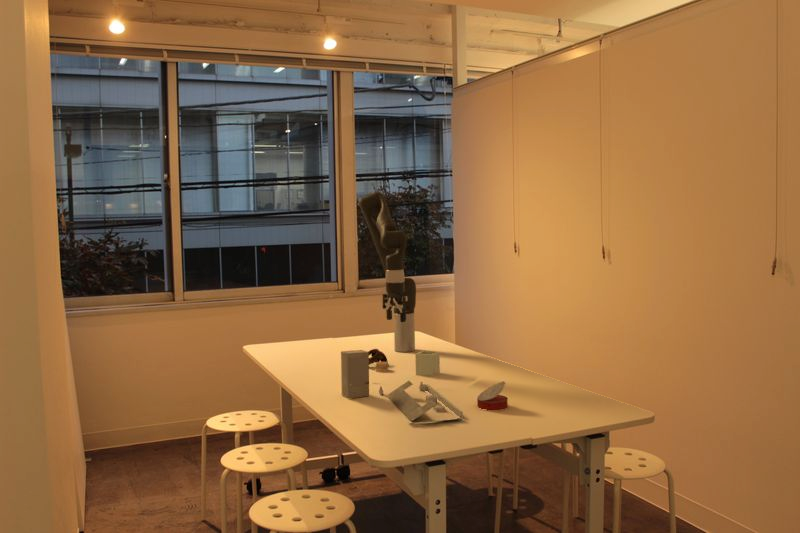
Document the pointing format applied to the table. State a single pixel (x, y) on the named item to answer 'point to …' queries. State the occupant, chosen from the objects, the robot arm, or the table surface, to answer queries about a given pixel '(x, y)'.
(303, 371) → the table surface
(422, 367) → the celadon pot
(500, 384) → the canned food
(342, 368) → the skincare box
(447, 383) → the table surface
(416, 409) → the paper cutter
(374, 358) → the pottery mug
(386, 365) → the oak block
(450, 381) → the table surface
